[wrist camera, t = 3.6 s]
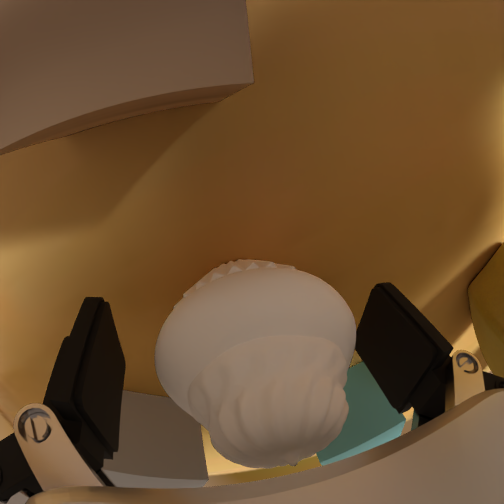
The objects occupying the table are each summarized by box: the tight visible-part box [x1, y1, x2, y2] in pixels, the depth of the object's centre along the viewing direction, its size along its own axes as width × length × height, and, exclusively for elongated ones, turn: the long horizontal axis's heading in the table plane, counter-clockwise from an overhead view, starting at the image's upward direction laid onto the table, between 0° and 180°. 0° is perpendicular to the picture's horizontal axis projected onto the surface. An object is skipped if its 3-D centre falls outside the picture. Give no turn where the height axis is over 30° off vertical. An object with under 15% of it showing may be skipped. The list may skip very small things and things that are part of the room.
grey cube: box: [102, 390, 209, 489], centre depth 12 cm, size 5×5×5 cm
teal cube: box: [316, 361, 406, 466], centre depth 14 cm, size 5×5×5 cm
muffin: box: [155, 259, 356, 468], centre depth 8 cm, size 6×6×7 cm
